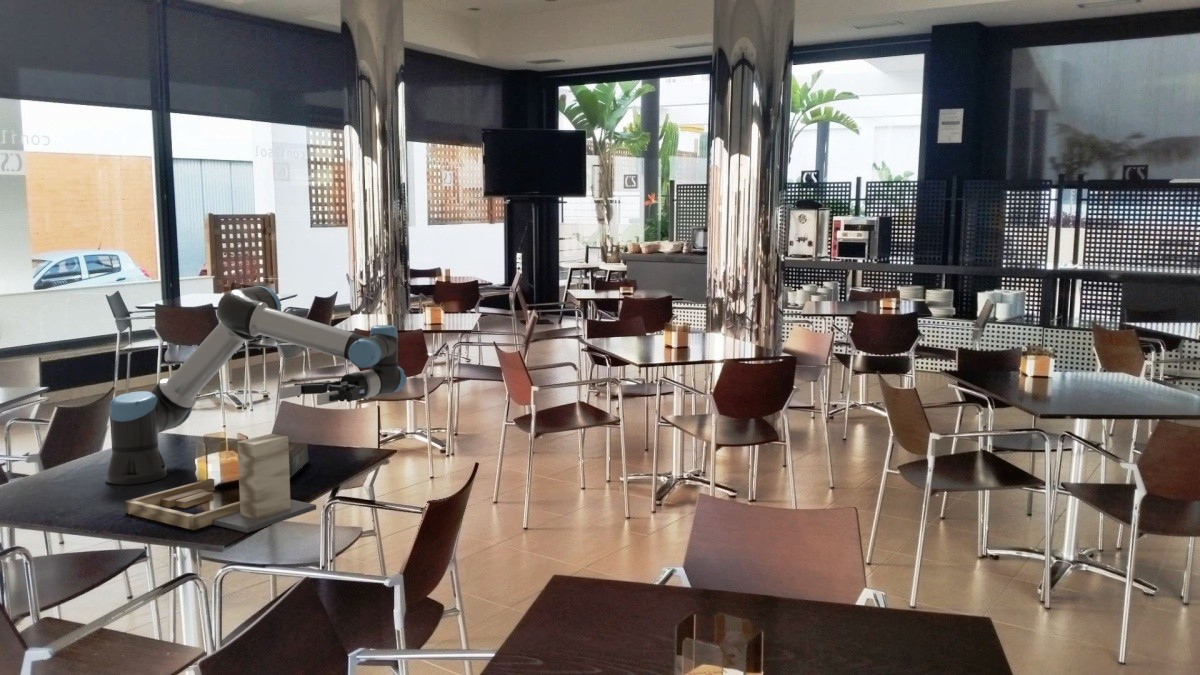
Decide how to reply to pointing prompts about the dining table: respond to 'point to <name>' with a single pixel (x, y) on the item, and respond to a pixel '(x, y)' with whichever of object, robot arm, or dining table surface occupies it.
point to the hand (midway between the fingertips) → (298, 396)
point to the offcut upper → (194, 499)
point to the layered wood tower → (264, 475)
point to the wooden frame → (151, 510)
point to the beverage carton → (297, 457)
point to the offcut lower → (178, 497)
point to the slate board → (252, 524)
